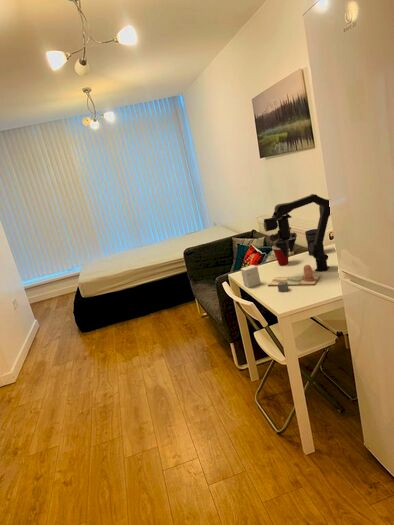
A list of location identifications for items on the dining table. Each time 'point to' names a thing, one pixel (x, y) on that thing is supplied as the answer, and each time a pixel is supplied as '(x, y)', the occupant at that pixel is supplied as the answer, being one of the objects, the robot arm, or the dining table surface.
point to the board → (294, 281)
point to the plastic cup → (280, 256)
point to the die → (283, 286)
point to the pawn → (308, 273)
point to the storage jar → (310, 237)
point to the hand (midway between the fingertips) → (288, 254)
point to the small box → (250, 276)
